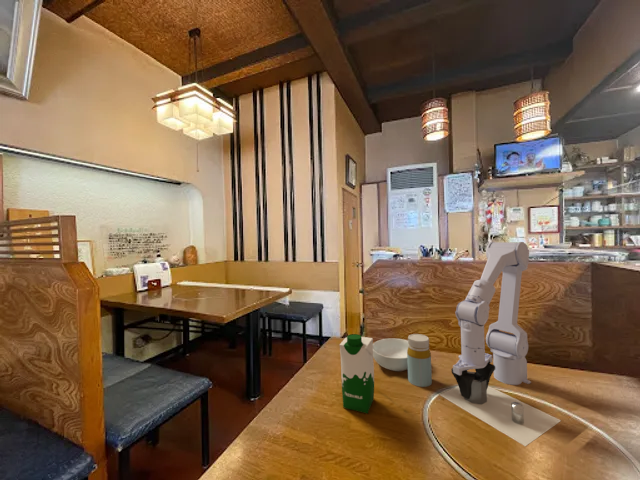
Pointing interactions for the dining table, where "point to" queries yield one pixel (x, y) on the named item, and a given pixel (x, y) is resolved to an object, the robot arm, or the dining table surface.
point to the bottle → (419, 360)
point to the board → (505, 415)
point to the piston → (517, 413)
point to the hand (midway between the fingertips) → (474, 392)
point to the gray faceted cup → (478, 389)
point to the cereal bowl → (391, 353)
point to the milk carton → (357, 372)
